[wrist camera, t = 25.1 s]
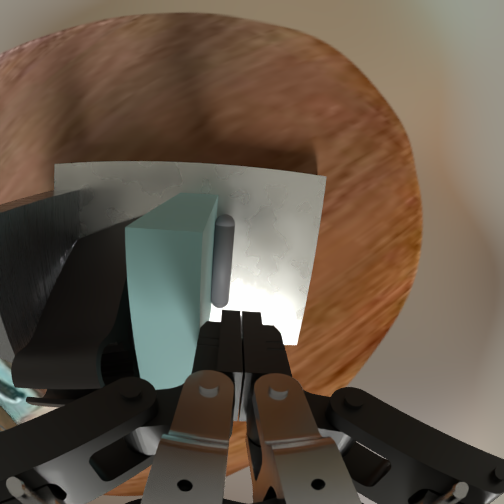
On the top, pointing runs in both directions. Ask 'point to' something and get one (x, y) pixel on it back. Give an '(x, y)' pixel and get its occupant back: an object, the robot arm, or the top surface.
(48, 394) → the phone stand
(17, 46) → the top surface
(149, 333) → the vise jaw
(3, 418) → the alarm clock
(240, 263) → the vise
